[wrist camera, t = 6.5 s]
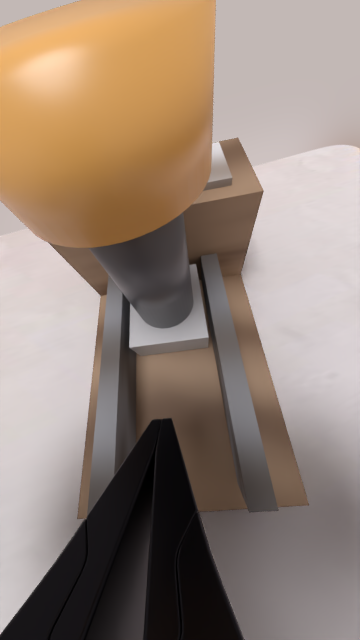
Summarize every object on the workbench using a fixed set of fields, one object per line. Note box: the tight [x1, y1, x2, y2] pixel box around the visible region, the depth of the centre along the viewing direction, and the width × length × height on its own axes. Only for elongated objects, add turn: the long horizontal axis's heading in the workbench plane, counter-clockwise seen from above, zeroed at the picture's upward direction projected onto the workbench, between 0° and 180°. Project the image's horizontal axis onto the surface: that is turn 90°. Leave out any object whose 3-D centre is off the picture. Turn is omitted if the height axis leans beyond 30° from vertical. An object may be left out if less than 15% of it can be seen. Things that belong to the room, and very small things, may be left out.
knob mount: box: [48, 138, 309, 519], centre depth 12 cm, size 21×13×8 cm, turn 6°
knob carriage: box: [0, 0, 216, 356], centre depth 9 cm, size 6×6×13 cm
